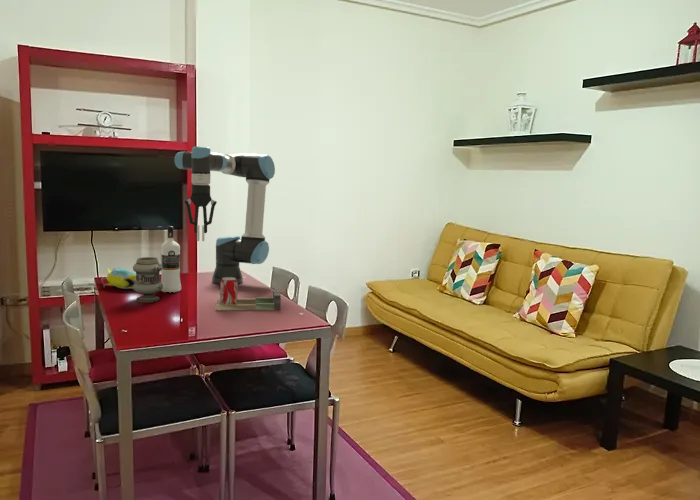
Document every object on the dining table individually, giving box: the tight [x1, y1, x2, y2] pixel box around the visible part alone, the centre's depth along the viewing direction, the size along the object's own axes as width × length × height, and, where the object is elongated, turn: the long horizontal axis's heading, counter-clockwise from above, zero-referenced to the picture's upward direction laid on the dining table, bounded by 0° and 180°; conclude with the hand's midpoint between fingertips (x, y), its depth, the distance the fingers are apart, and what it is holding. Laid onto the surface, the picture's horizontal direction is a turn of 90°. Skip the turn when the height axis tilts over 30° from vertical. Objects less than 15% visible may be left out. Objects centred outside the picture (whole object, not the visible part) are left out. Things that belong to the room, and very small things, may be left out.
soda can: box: [219, 277, 239, 304], centre depth 235 cm, size 7×7×12 cm
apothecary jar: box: [132, 256, 163, 303], centre depth 241 cm, size 12×12×18 cm
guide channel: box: [215, 289, 282, 311], centre depth 237 cm, size 12×26×6 cm, turn 101°
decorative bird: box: [100, 267, 136, 290], centre depth 263 cm, size 14×30×9 cm, turn 67°
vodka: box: [160, 225, 182, 294], centre depth 259 cm, size 9×9×30 cm
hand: (200, 240), depth 238 cm, fingers closed
